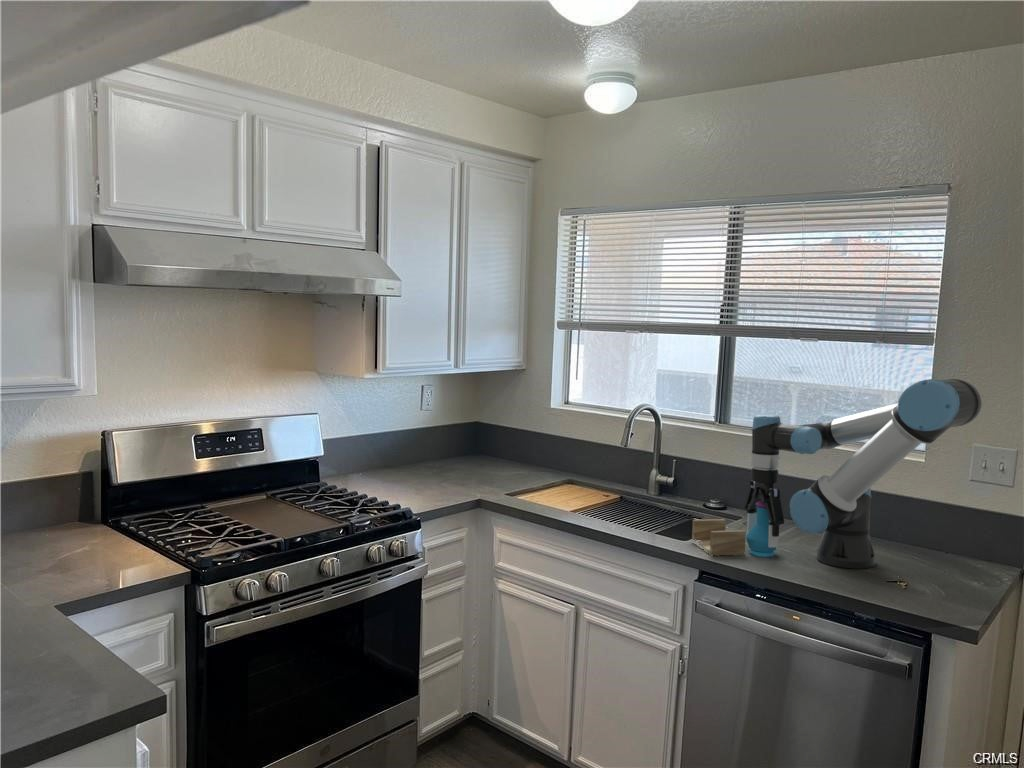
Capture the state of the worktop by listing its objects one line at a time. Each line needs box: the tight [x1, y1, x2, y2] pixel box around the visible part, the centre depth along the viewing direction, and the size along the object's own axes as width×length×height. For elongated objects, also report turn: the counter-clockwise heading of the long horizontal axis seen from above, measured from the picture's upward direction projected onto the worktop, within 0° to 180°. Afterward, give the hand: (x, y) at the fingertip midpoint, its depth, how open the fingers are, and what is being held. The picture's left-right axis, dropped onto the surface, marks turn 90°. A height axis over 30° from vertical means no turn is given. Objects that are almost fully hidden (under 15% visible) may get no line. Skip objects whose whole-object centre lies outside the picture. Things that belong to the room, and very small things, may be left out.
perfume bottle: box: [745, 500, 777, 558], centre depth 219 cm, size 9×9×15 cm
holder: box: [691, 518, 747, 556], centre depth 224 cm, size 15×10×7 cm, turn 8°
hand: (762, 540), depth 220 cm, fingers open, 12 cm apart
